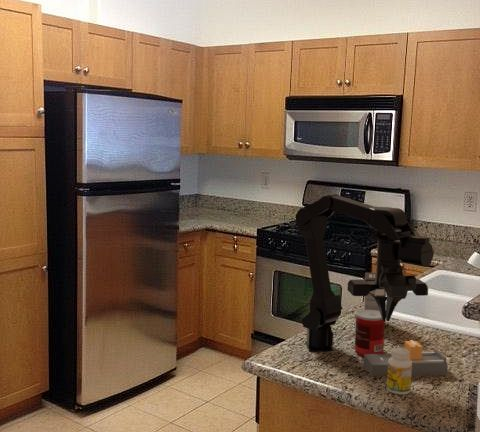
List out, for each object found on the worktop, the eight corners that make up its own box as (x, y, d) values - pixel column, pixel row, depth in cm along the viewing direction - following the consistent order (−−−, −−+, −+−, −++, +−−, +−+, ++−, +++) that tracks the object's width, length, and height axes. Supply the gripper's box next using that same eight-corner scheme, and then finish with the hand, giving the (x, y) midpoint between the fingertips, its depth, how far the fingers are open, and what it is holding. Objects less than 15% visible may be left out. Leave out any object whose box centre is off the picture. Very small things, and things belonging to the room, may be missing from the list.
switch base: (371, 376, 139) (372, 360, 138) (363, 365, 146) (364, 349, 145) (446, 375, 140) (447, 359, 140) (435, 363, 147) (436, 348, 147)
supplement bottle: (415, 393, 130) (417, 353, 129) (395, 396, 128) (398, 356, 127) (400, 383, 135) (402, 345, 134) (381, 387, 133) (383, 348, 132)
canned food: (384, 349, 157) (386, 311, 155) (381, 359, 150) (383, 319, 148) (356, 345, 160) (358, 308, 158) (352, 355, 152) (354, 316, 150)
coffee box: (362, 320, 181) (364, 271, 179) (383, 322, 180) (385, 273, 178) (362, 330, 173) (365, 278, 170) (384, 331, 171) (387, 280, 169)
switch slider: (409, 360, 141) (410, 345, 140) (404, 354, 145) (404, 339, 144) (421, 360, 141) (422, 345, 140) (415, 354, 145) (416, 339, 144)
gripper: (360, 267, 130) (358, 332, 132) (439, 267, 131) (435, 331, 134) (348, 257, 141) (345, 317, 143) (420, 256, 142) (417, 316, 145)
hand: (385, 320), depth 141 cm, fingers closed
